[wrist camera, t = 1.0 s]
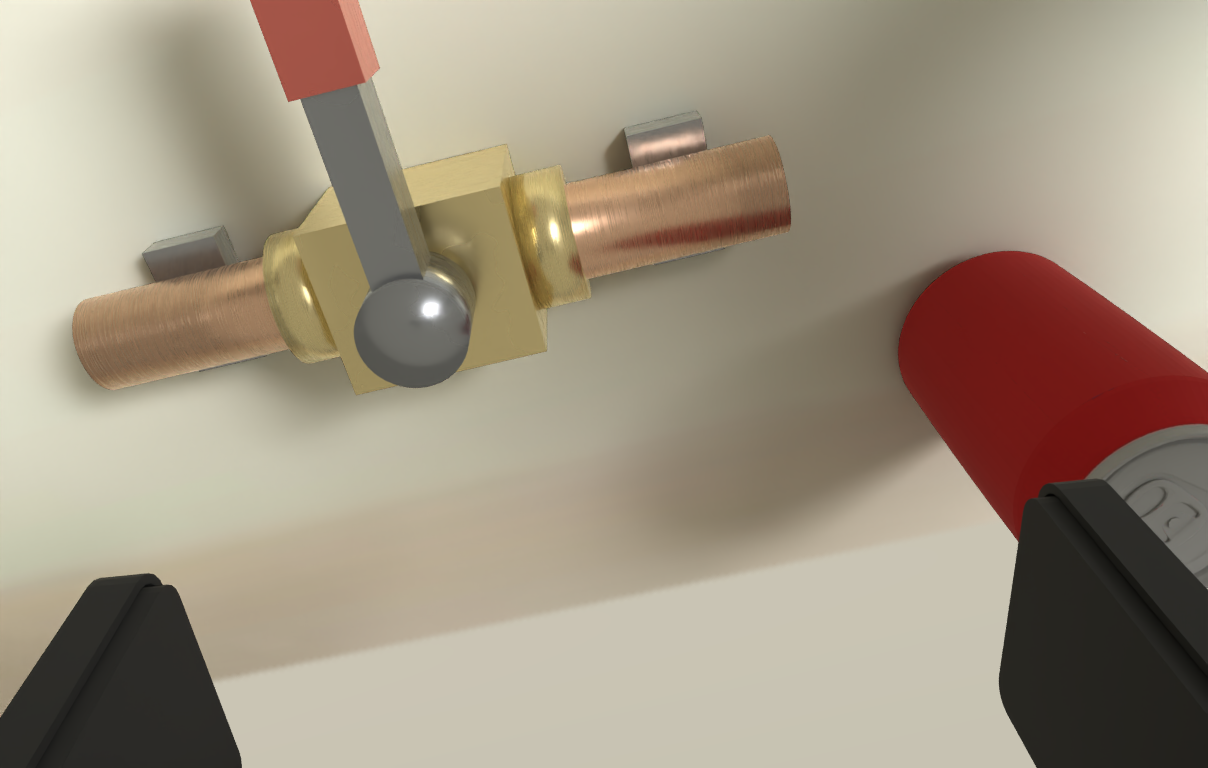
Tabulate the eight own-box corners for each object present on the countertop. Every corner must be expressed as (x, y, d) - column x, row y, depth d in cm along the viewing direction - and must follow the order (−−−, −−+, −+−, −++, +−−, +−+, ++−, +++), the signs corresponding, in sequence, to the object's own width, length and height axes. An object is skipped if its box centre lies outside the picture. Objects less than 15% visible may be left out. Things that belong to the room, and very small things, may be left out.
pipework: (749, 84, 30) (784, 117, 26) (772, 237, 32) (808, 291, 28) (97, 243, 31) (23, 301, 27) (166, 378, 34) (108, 452, 29)
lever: (487, 334, 28) (482, 373, 25) (390, 356, 28) (376, 398, 26) (329, -169, 22) (303, -176, 19) (206, -136, 22) (166, -140, 20)
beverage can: (977, 440, 37) (1151, 662, 26) (851, 350, 35) (986, 552, 24) (1111, 309, 34) (1363, 494, 24) (985, 204, 32) (1200, 356, 22)
